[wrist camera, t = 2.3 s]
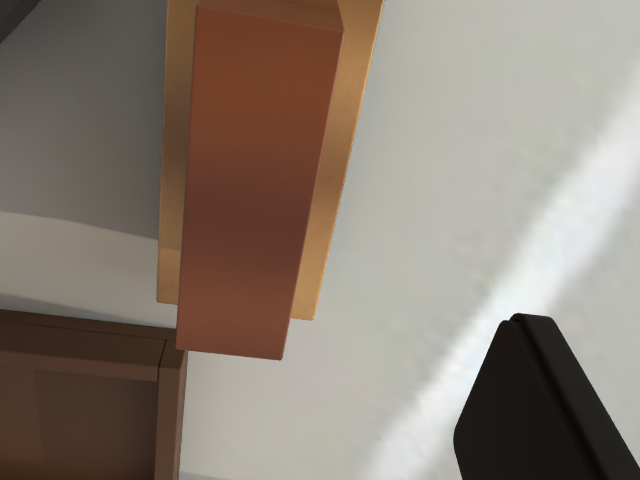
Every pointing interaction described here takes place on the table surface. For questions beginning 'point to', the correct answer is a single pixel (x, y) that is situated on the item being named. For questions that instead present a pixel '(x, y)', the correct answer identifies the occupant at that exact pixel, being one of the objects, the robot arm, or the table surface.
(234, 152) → the brush
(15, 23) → the usb drive
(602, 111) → the table surface
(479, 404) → the robot arm
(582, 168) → the table surface
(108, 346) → the tray
